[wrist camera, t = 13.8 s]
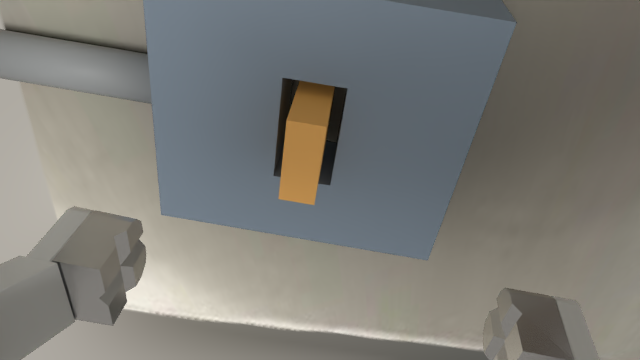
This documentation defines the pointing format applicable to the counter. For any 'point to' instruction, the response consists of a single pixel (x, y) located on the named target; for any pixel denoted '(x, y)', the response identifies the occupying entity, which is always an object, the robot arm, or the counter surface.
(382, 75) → the blue holed block
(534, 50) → the counter surface
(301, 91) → the orange rectangular block
